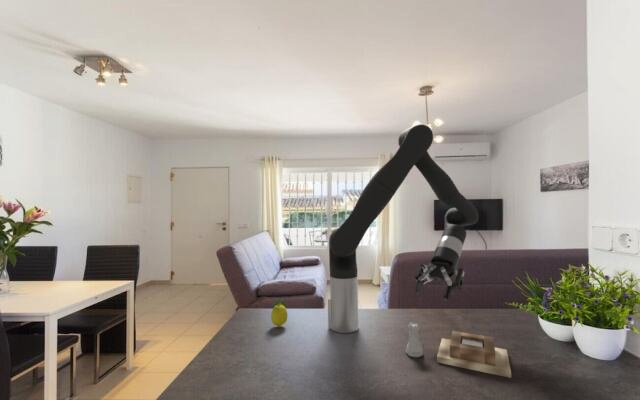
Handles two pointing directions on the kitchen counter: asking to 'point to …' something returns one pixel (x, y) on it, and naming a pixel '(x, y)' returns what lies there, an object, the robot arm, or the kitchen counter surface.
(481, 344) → the plate
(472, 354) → the press socket
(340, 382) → the kitchen counter surface
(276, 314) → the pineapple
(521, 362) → the kitchen counter surface
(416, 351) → the rook chess piece
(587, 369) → the kitchen counter surface
